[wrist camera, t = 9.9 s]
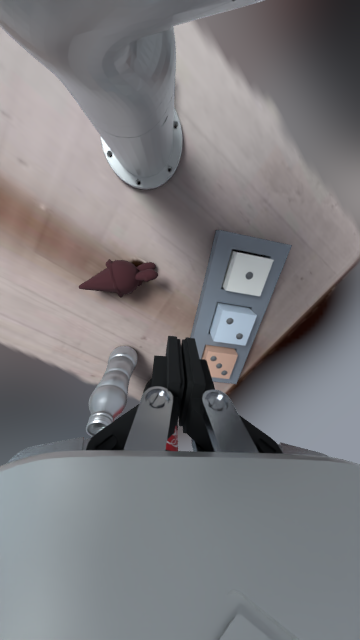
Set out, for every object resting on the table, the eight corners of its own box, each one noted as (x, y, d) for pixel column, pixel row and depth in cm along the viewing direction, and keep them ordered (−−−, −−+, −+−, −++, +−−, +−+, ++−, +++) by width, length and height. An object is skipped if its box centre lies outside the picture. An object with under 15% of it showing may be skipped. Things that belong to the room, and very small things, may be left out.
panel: (216, 230, 36) (220, 230, 34) (283, 244, 38) (291, 245, 35) (182, 370, 50) (183, 378, 47) (232, 375, 52) (236, 383, 49)
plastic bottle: (144, 352, 47) (129, 428, 29) (127, 368, 49) (102, 449, 31) (123, 337, 45) (93, 408, 27) (106, 354, 47) (66, 431, 29)
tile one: (229, 250, 38) (237, 252, 33) (262, 256, 38) (274, 259, 34) (220, 284, 40) (226, 290, 36) (250, 290, 41) (260, 296, 37)
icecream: (84, 313, 35) (163, 295, 36) (62, 278, 31) (153, 257, 31) (91, 294, 41) (159, 278, 41) (73, 261, 36) (150, 244, 37)
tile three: (204, 340, 46) (208, 351, 42) (231, 344, 47) (238, 355, 43) (198, 363, 49) (200, 376, 45) (224, 367, 50) (229, 379, 46)
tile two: (217, 302, 40) (223, 310, 36) (248, 307, 41) (257, 315, 37) (209, 331, 43) (213, 341, 39) (238, 335, 44) (245, 345, 40)
